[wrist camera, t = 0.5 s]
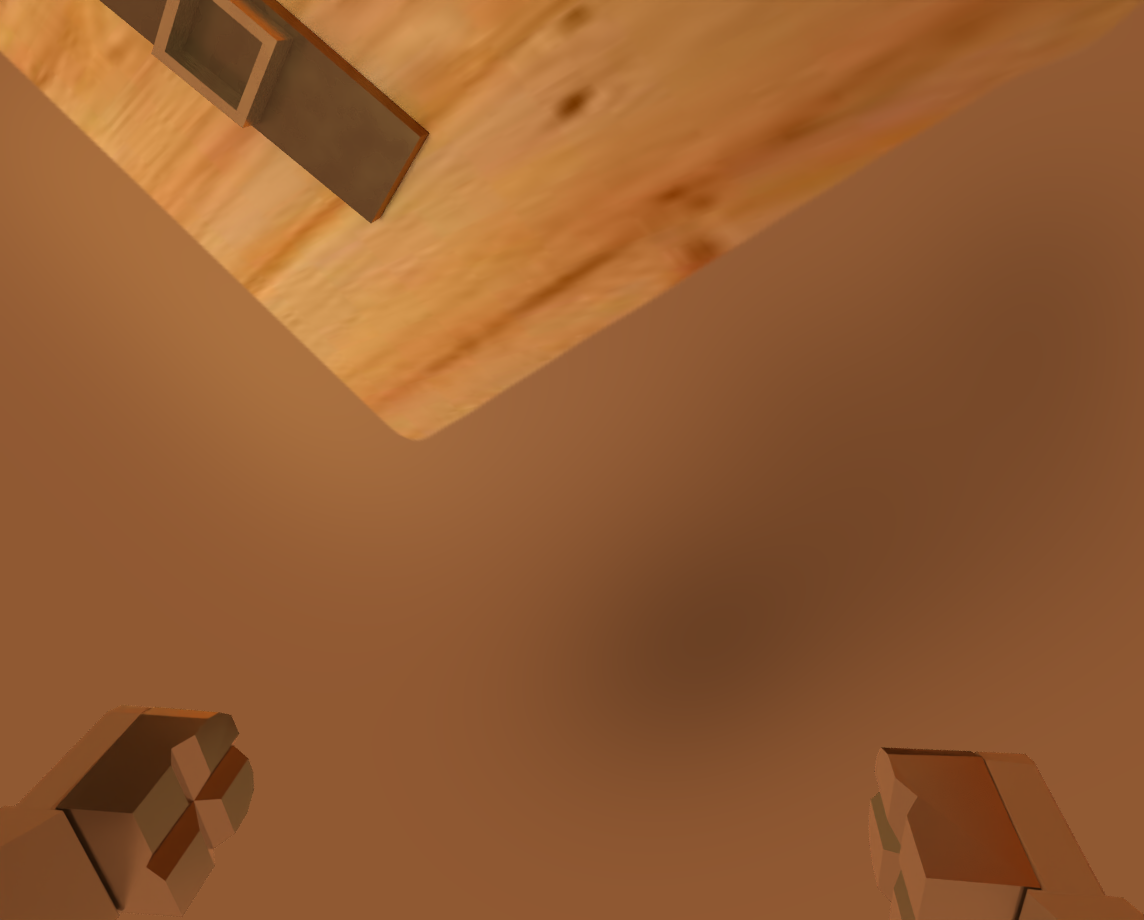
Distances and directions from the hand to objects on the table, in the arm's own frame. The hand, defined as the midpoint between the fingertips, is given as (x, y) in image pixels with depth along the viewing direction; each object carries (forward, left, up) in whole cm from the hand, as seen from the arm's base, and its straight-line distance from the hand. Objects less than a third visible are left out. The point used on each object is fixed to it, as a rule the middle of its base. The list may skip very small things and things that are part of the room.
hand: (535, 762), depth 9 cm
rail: (+19, -31, -47) cm, 59 cm away
